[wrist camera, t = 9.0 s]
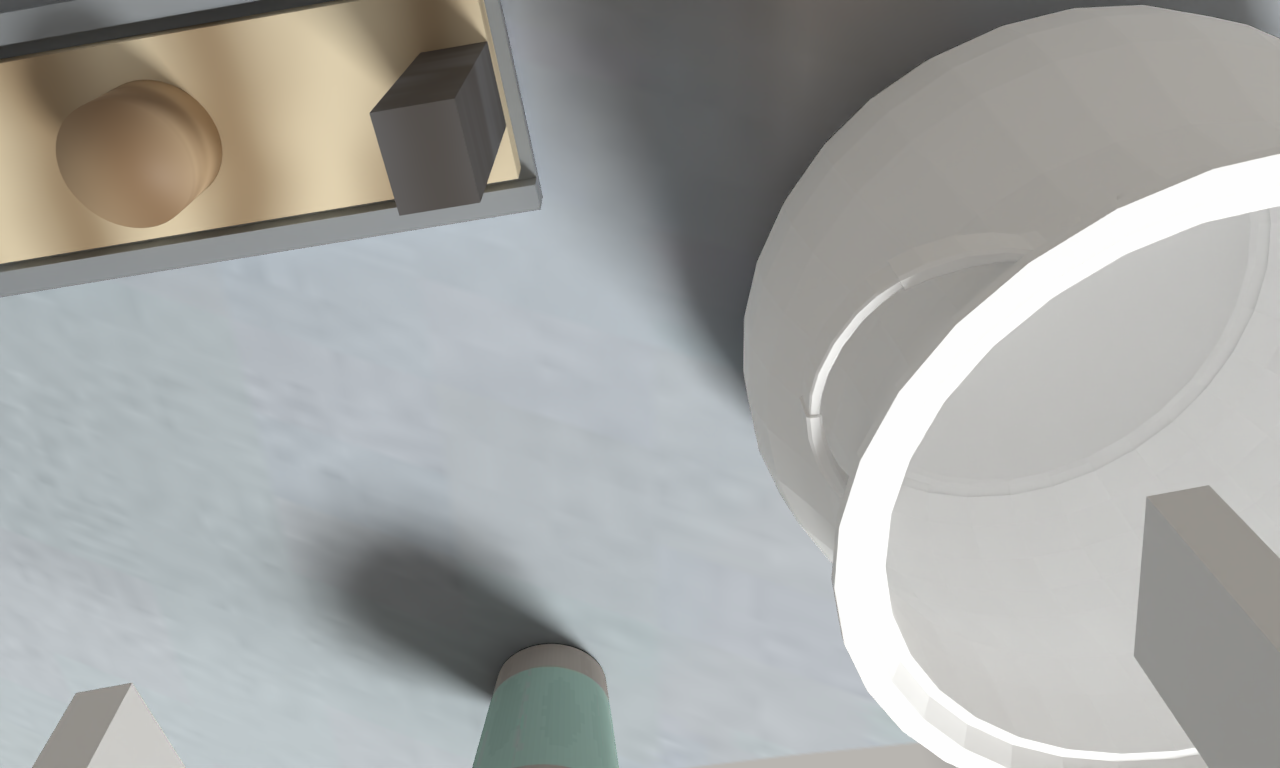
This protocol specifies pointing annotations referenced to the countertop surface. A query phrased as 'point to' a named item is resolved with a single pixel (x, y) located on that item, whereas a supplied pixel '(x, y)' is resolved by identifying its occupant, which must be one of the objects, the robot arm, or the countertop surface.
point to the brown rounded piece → (139, 153)
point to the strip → (275, 117)
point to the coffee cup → (548, 713)
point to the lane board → (144, 3)
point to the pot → (1027, 366)
